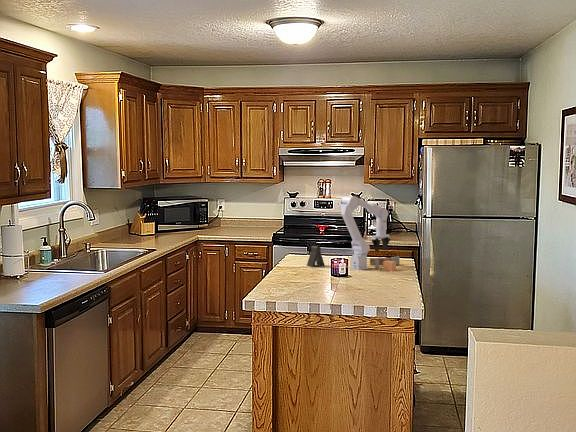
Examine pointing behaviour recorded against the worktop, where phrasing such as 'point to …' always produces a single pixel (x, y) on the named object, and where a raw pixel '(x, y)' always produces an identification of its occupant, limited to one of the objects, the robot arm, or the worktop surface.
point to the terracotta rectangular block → (389, 265)
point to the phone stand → (315, 257)
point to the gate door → (372, 260)
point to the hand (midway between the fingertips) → (380, 250)
